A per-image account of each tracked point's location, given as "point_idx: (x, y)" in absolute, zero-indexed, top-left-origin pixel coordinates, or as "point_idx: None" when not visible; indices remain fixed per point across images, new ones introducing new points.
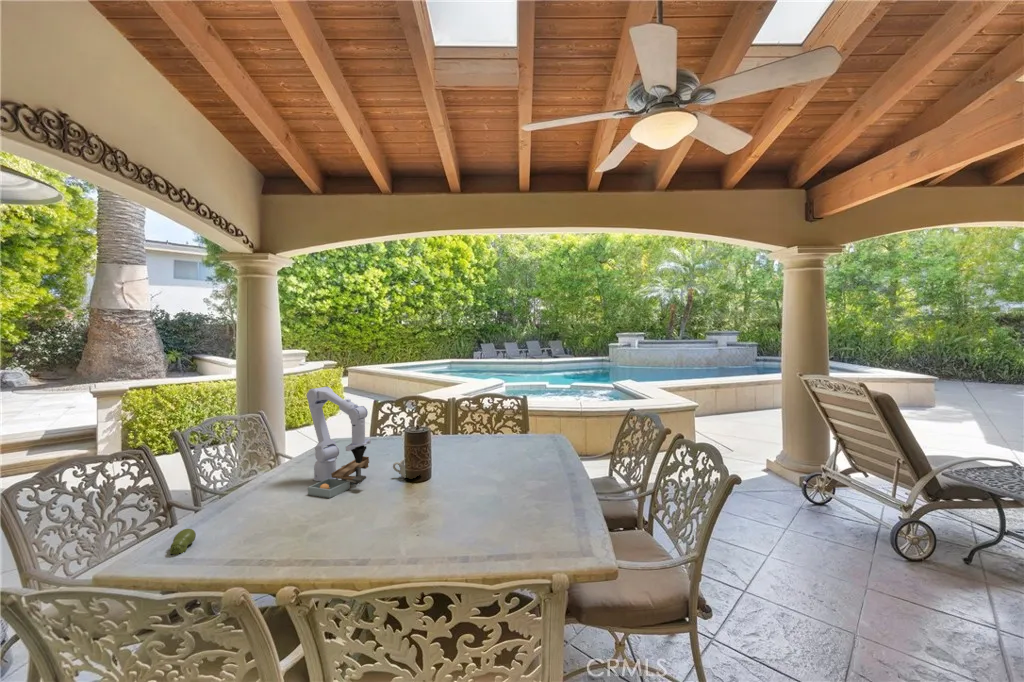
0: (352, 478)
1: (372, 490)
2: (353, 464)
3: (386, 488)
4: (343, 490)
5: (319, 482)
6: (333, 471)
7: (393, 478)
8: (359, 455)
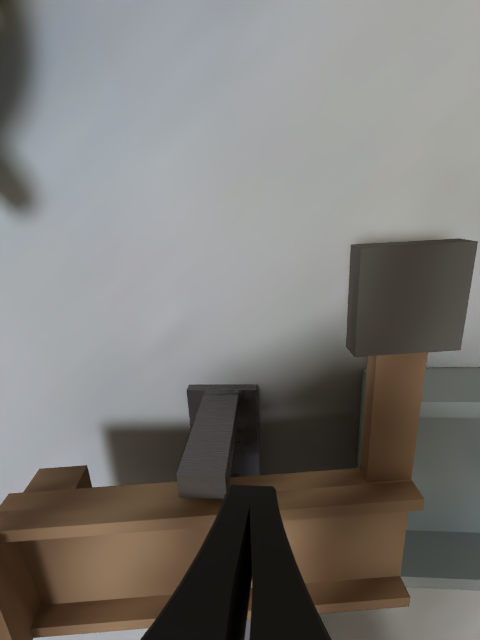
0: (424, 372)
1: (335, 157)
2: (140, 580)
3: (242, 54)
4: (441, 373)
5: (475, 584)
6: (247, 630)
7: (9, 192)
8: (321, 624)
